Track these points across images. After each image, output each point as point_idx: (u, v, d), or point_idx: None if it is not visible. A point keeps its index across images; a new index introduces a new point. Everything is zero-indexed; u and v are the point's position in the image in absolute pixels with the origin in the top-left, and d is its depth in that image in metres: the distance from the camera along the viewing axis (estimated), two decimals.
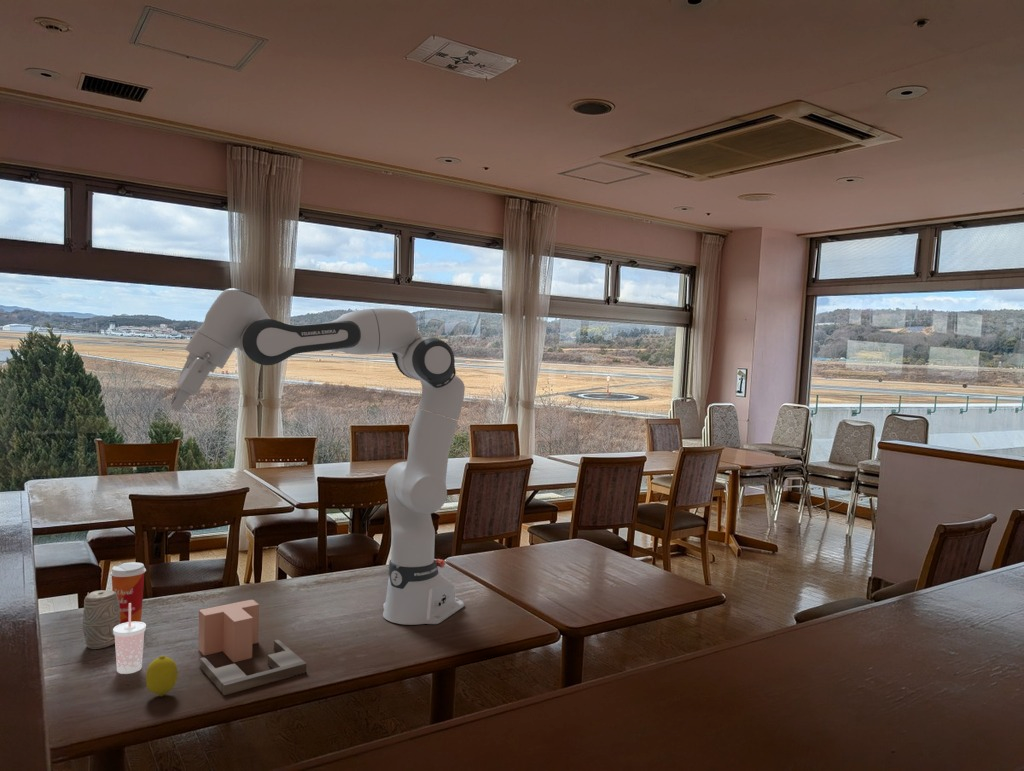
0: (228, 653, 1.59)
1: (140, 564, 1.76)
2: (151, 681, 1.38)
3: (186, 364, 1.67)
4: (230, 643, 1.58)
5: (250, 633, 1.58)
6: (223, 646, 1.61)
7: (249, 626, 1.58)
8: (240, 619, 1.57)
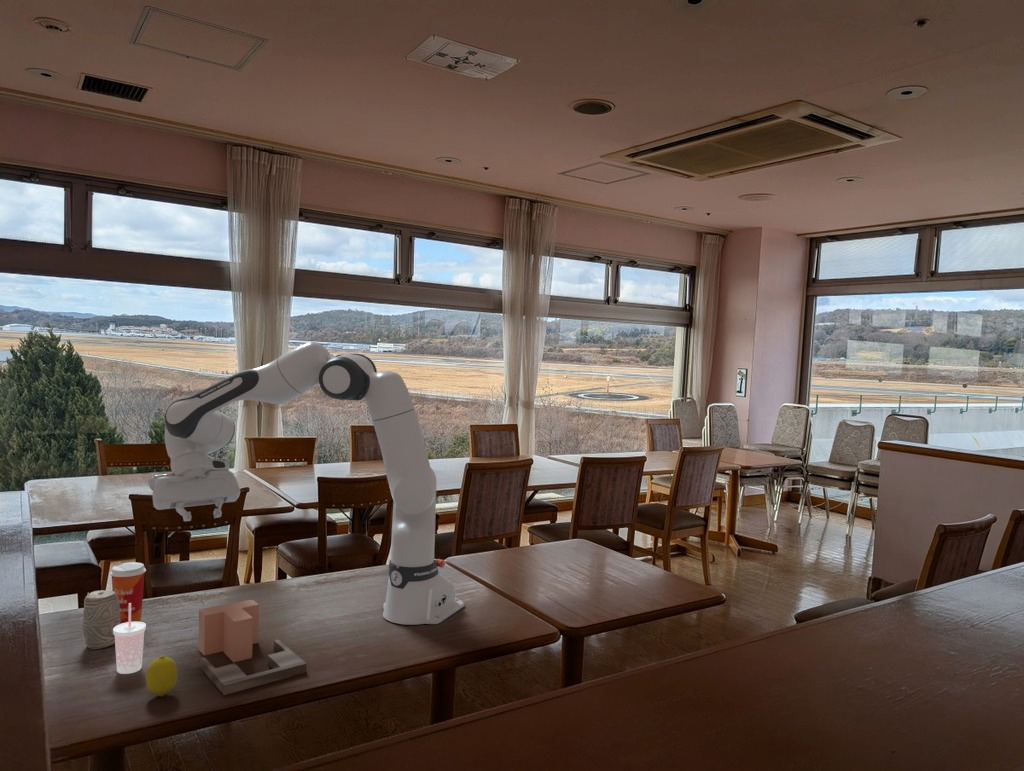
0: (228, 653, 1.59)
1: (140, 564, 1.76)
2: (151, 681, 1.38)
3: None
4: (230, 643, 1.58)
5: (250, 633, 1.58)
6: (223, 646, 1.61)
7: (249, 626, 1.58)
8: (240, 619, 1.57)
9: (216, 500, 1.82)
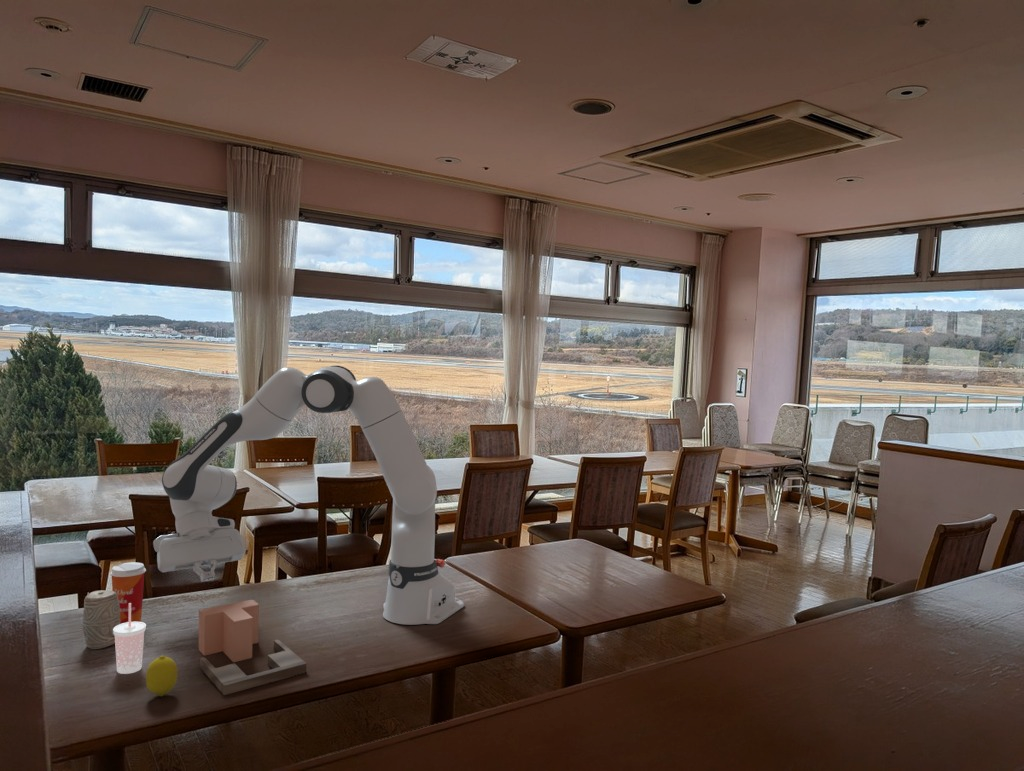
0: (228, 653, 1.59)
1: (140, 564, 1.76)
2: (151, 681, 1.38)
3: None
4: (230, 643, 1.58)
5: (250, 633, 1.58)
6: (223, 646, 1.61)
7: (249, 626, 1.58)
8: (240, 619, 1.57)
9: (209, 562, 1.78)
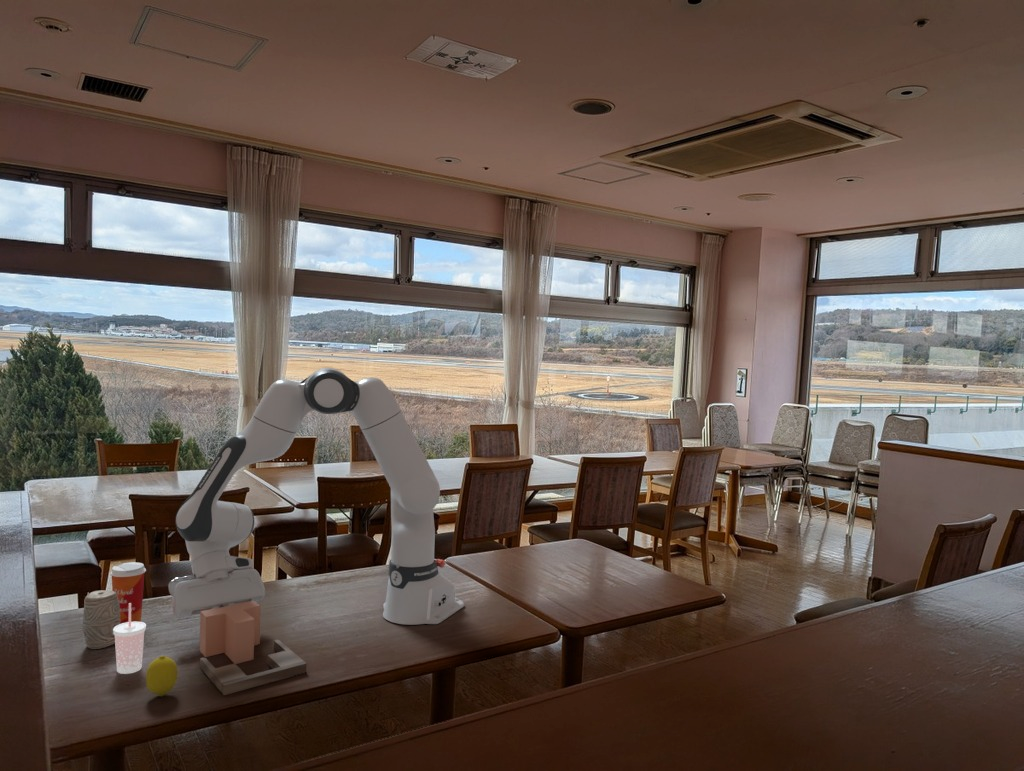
0: (230, 655, 1.58)
1: (140, 564, 1.76)
2: (151, 681, 1.38)
3: None
4: (232, 645, 1.57)
5: (252, 635, 1.57)
6: (224, 648, 1.60)
7: (251, 627, 1.57)
8: (241, 620, 1.56)
9: (227, 605, 1.68)
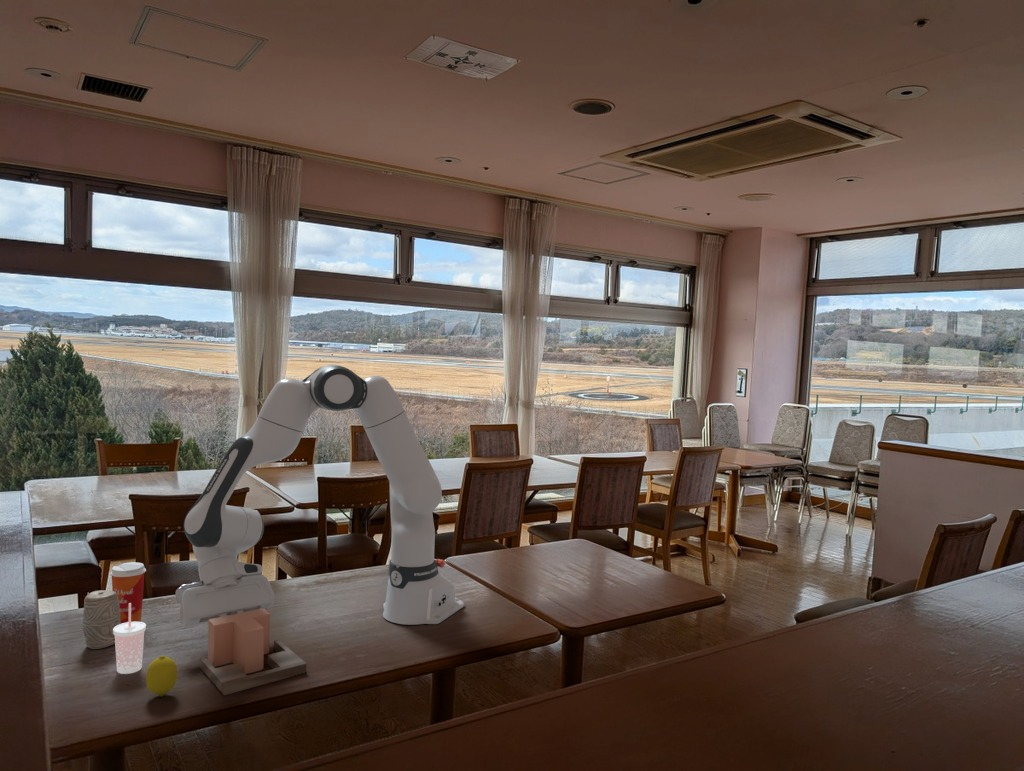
0: (239, 664, 1.53)
1: (140, 564, 1.76)
2: (151, 681, 1.38)
3: None
4: (241, 655, 1.52)
5: (261, 644, 1.53)
6: (233, 657, 1.56)
7: (261, 636, 1.53)
8: (251, 629, 1.52)
9: (236, 613, 1.64)
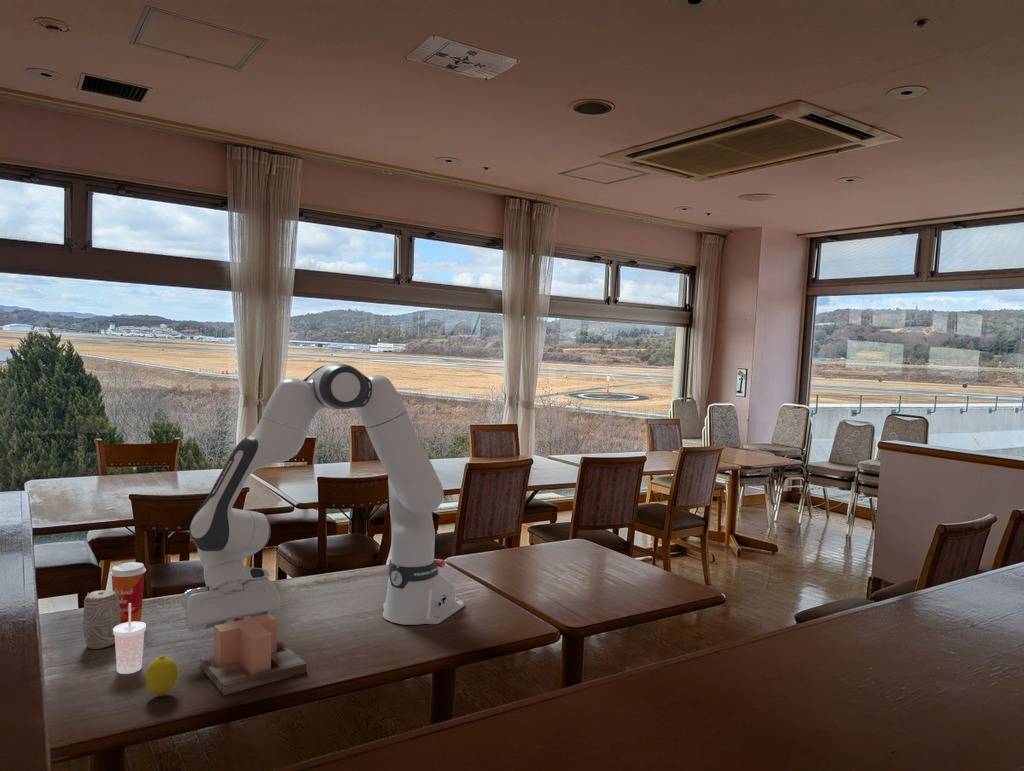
0: (246, 672, 1.50)
1: (140, 564, 1.76)
2: (151, 681, 1.38)
3: None
4: (248, 662, 1.49)
5: (268, 651, 1.50)
6: (240, 664, 1.53)
7: (268, 643, 1.50)
8: (258, 636, 1.49)
9: (242, 618, 1.61)
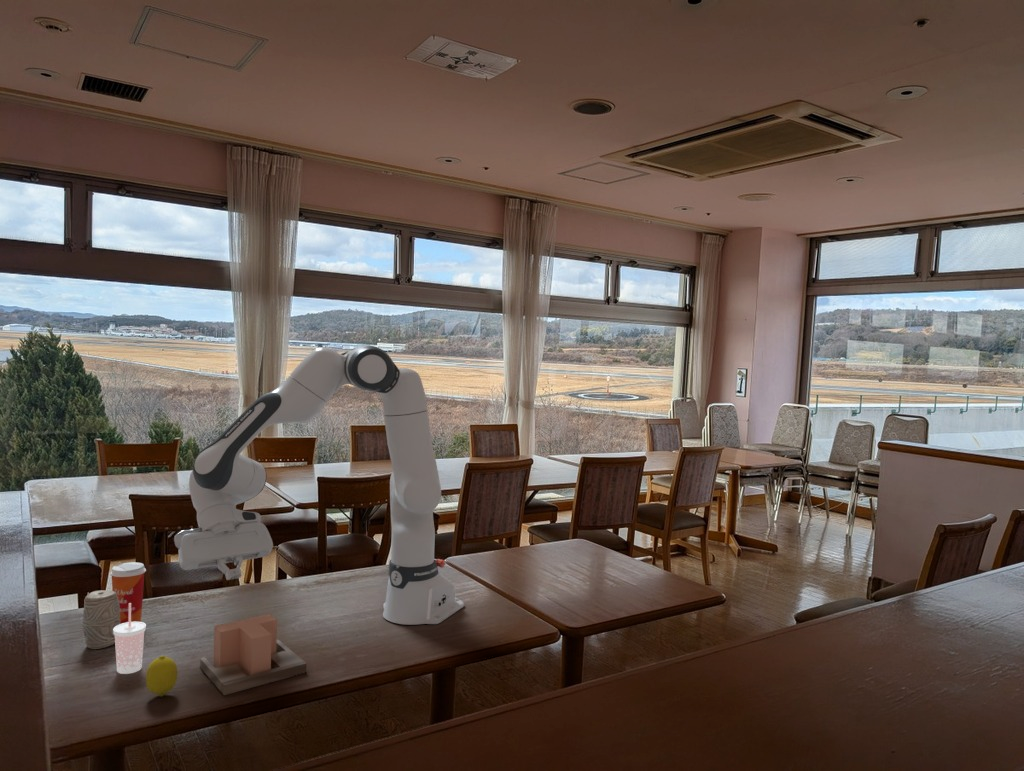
0: (246, 672, 1.50)
1: (140, 564, 1.76)
2: (151, 681, 1.38)
3: None
4: (248, 662, 1.49)
5: (268, 651, 1.50)
6: (240, 664, 1.53)
7: (268, 643, 1.50)
8: (258, 636, 1.49)
9: (235, 558, 1.64)
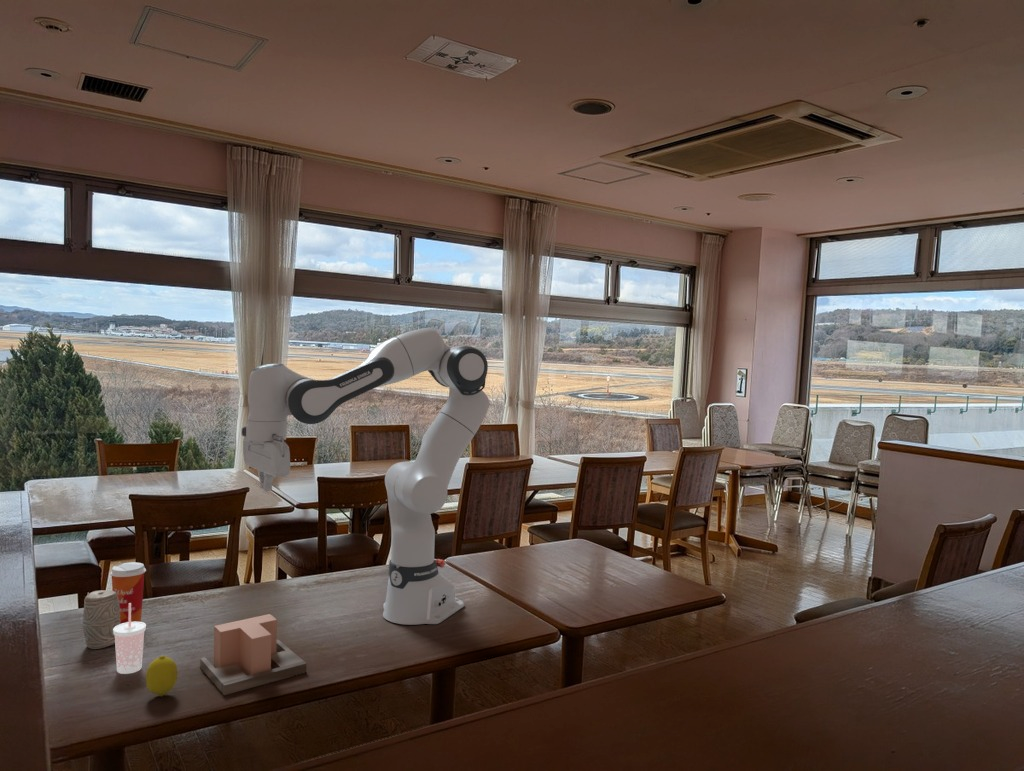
0: (246, 672, 1.50)
1: (140, 564, 1.76)
2: (151, 681, 1.38)
3: (245, 447, 1.76)
4: (248, 662, 1.49)
5: (269, 651, 1.50)
6: (240, 664, 1.53)
7: (268, 643, 1.50)
8: (258, 636, 1.49)
9: None
